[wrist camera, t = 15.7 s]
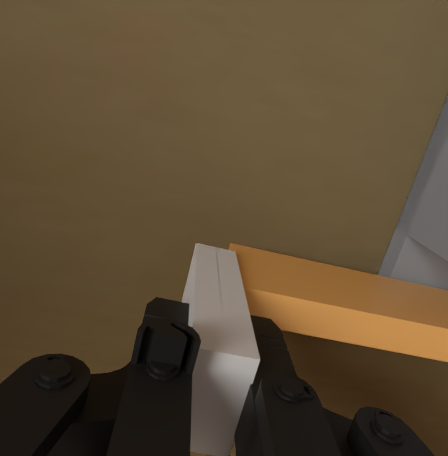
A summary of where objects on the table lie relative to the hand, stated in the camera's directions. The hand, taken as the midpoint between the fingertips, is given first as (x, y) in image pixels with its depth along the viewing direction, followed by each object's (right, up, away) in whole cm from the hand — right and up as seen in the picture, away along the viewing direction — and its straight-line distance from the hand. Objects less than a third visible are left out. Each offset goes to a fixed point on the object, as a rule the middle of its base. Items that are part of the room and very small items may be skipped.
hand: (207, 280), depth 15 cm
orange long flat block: (+7, -1, +2) cm, 7 cm away
